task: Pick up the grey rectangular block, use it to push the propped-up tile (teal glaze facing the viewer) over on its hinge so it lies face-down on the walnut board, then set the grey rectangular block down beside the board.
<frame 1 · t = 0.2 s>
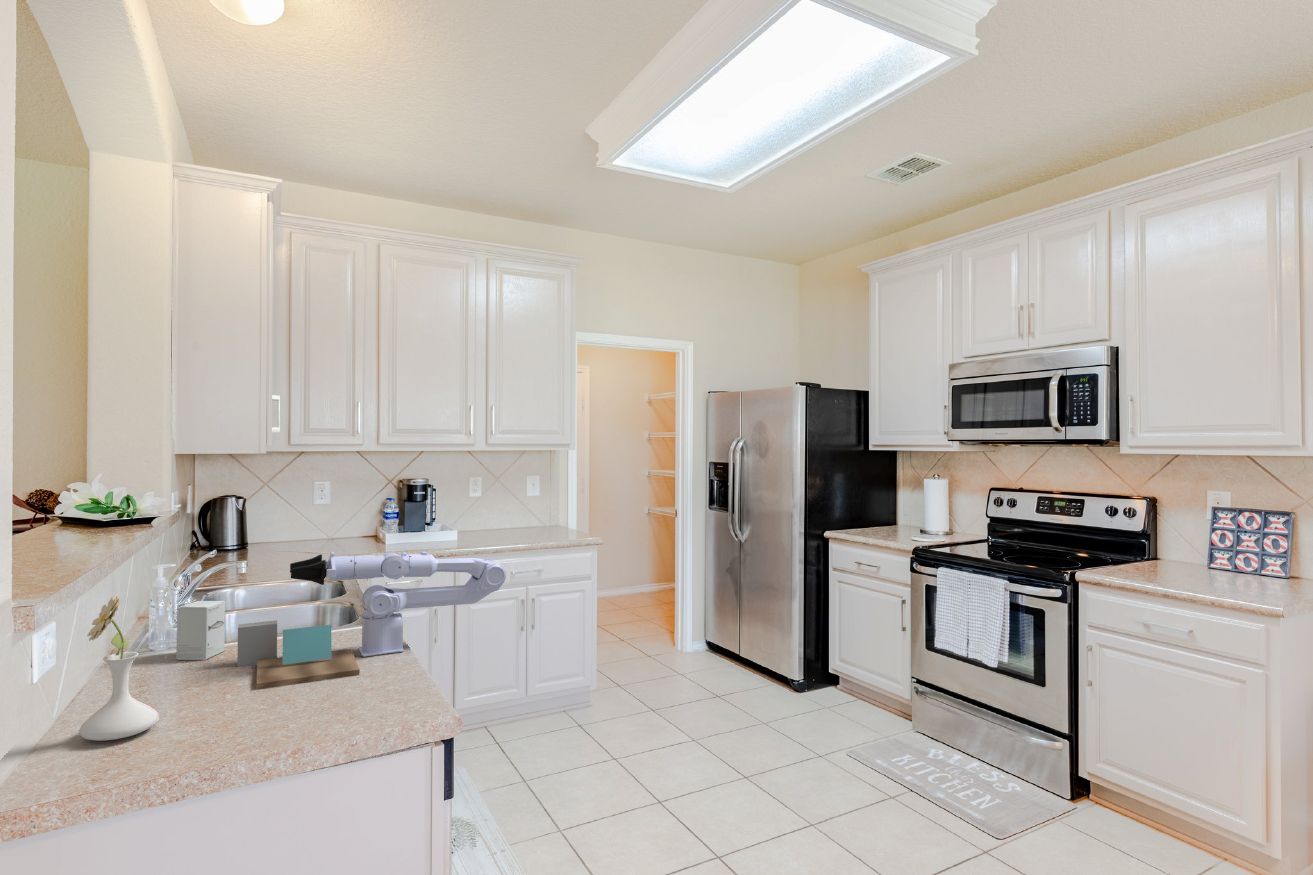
hand: (290, 570, 166), 22 cm above the counter, tool horizontal, fingers open, 7 cm apart
supplement box: (200, 656, 170), on the counter
flower in vase: (118, 736, 124), on the counter
board: (307, 670, 160), on the counter
grey rectangular block: (257, 662, 166), on the counter
tile: (307, 644, 162), point 5 cm above the counter, hinge at 78.0°
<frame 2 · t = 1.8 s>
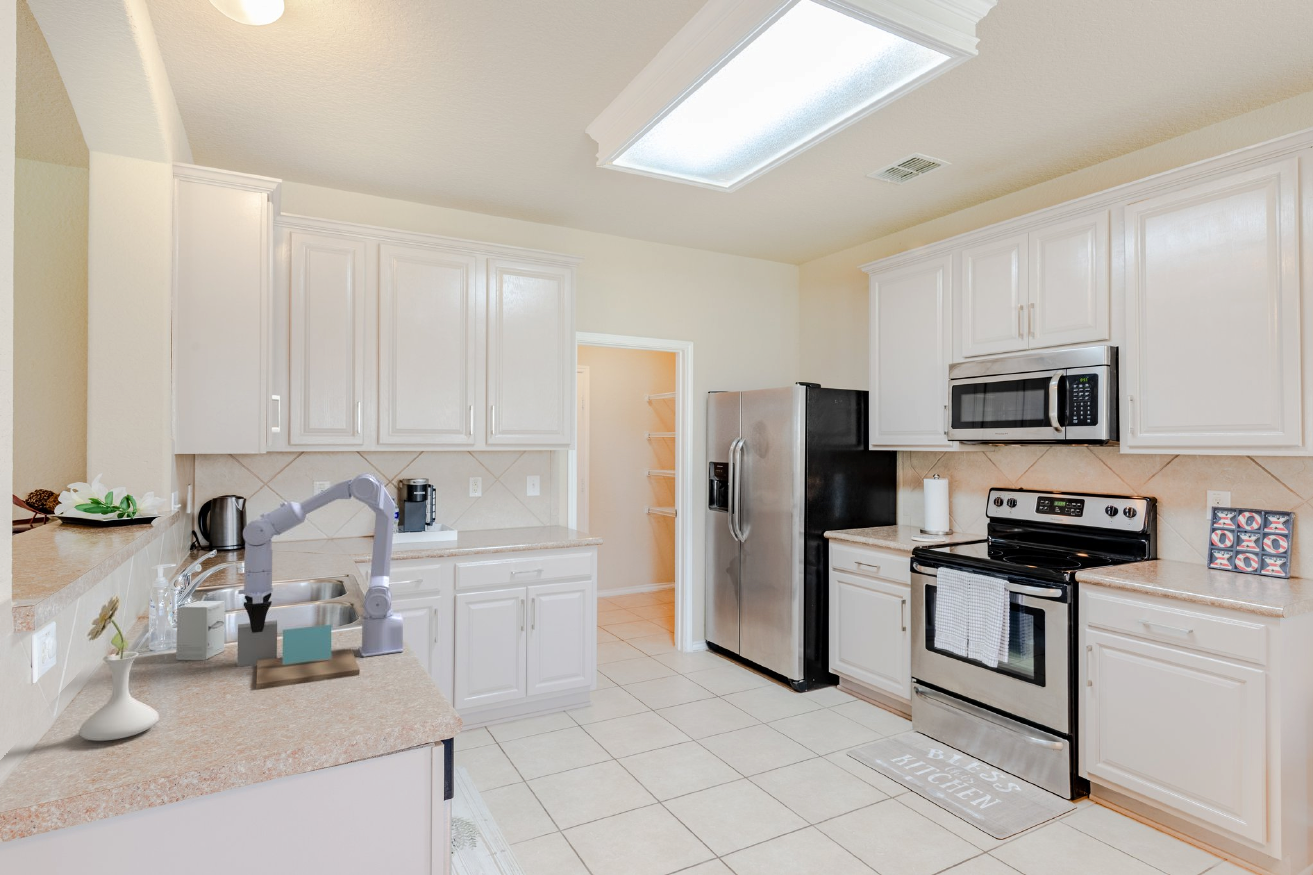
hand: (257, 628, 166), 8 cm above the counter, tool pointing down, fingers open, 7 cm apart
nothing on the counter moved.
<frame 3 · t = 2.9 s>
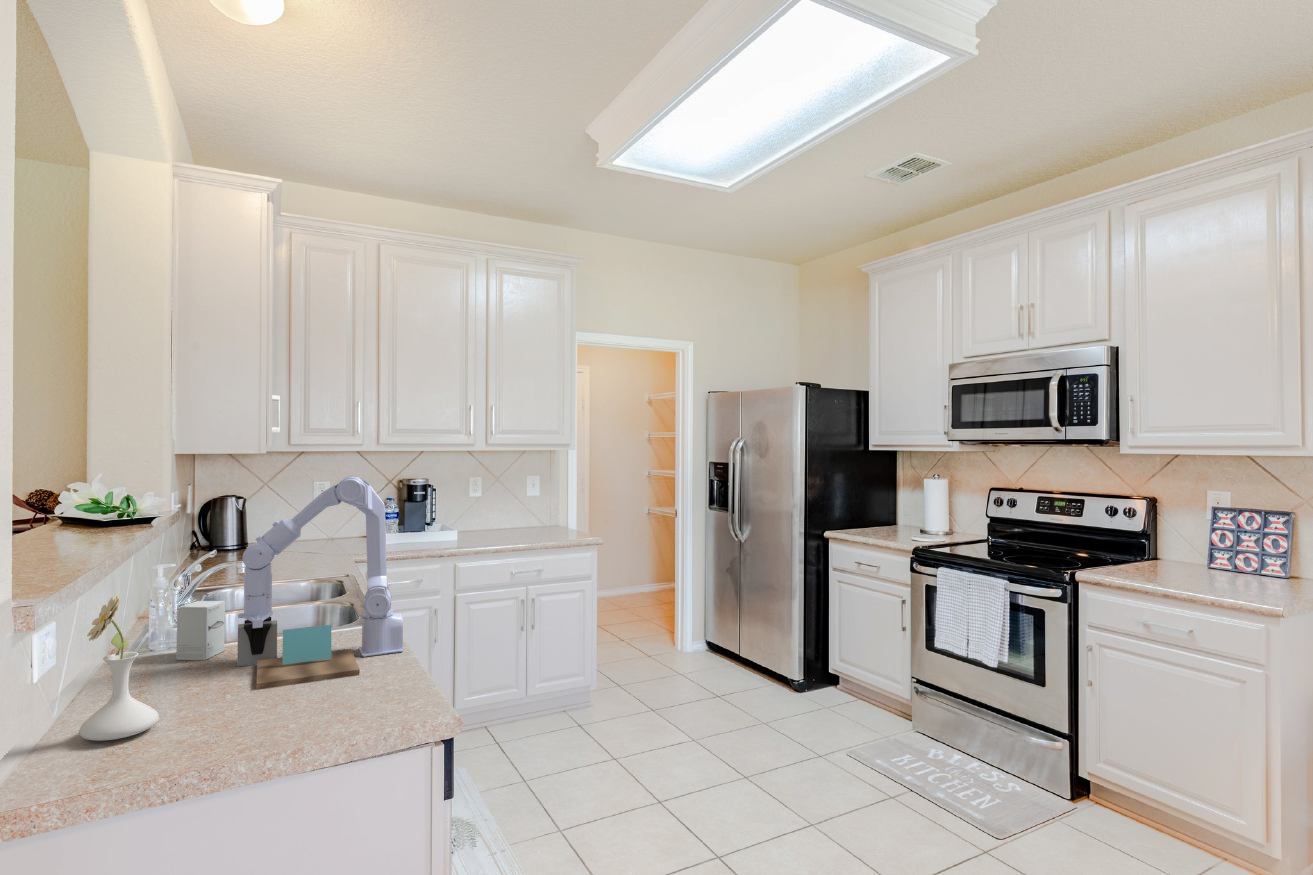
hand: (257, 651, 166), 2 cm above the counter, tool pointing down, fingers closed on grey rectangular block, 3 cm apart
grey rectangular block: (257, 662, 166), on the counter, touching gripper
everything else where it was.
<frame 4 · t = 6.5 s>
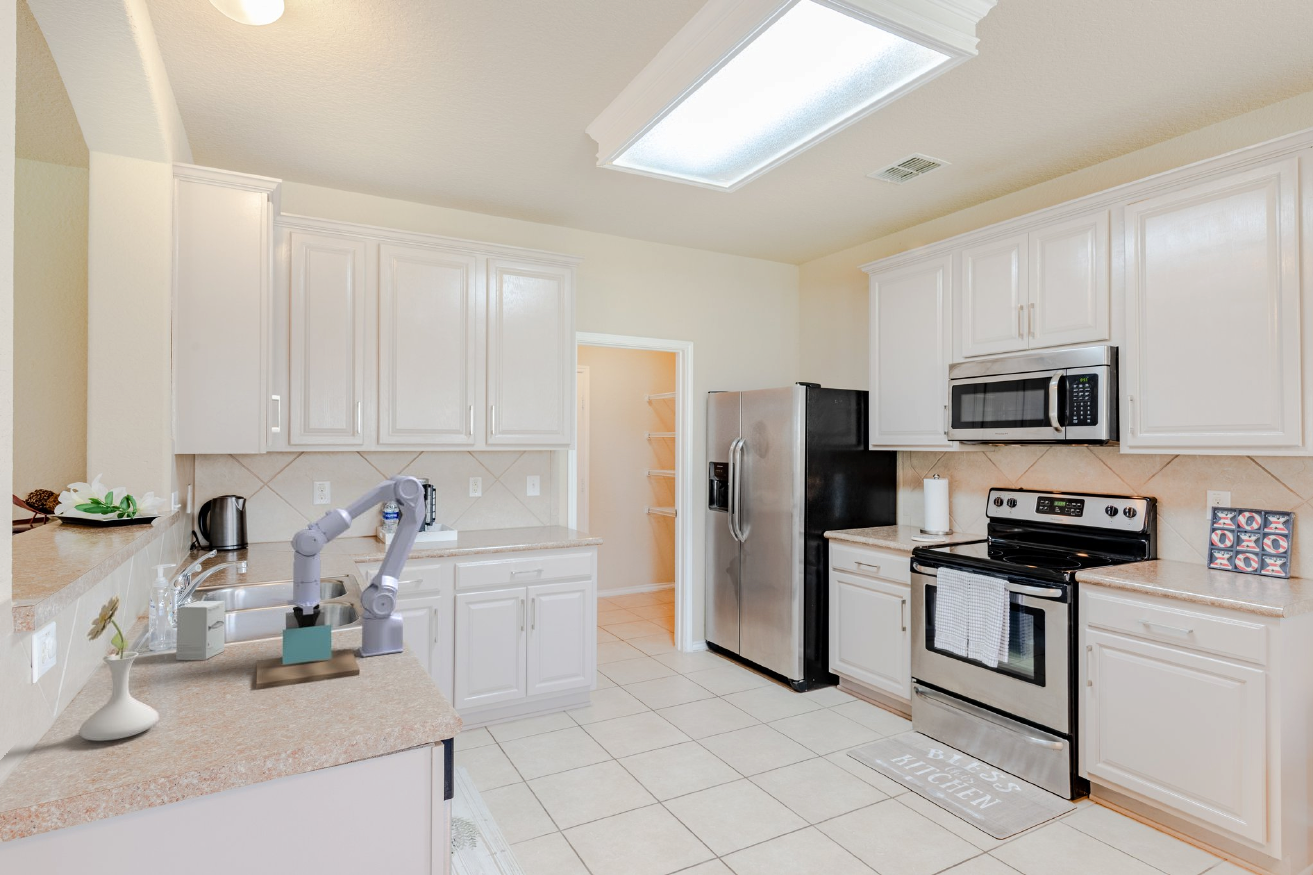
hand: (306, 638, 166), 6 cm above the counter, tool pointing down, fingers closed on grey rectangular block, 3 cm apart
grey rectangular block: (305, 650, 165), point 3 cm above the counter, touching gripper
tile: (307, 644, 162), point 5 cm above the counter, hinge at 78.3°, touching gripper
everything else where it was.
when the fingers open (6 cm above the counter, at t = 7.1 s): grey rectangular block stays where it is, resting on tile.
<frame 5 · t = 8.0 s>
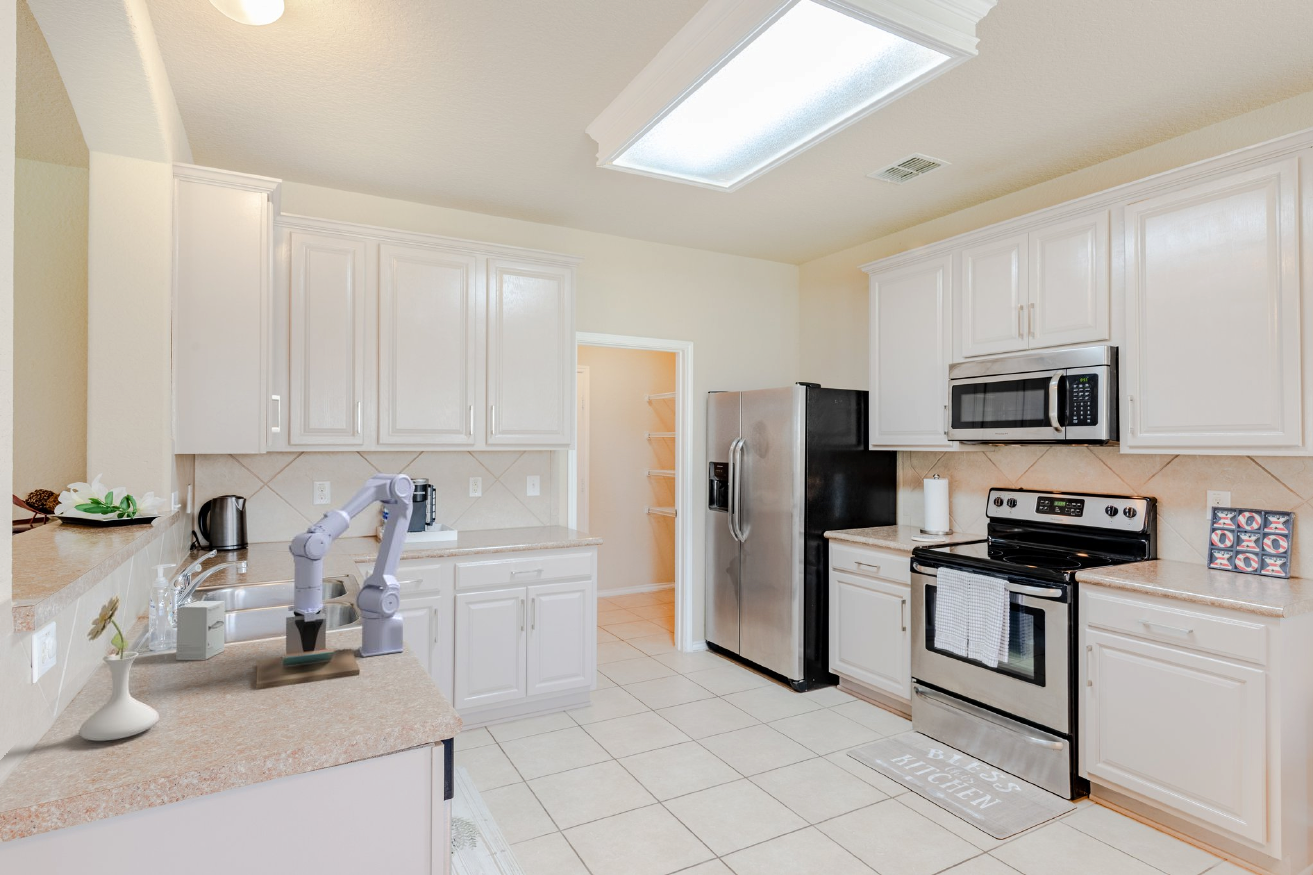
hand: (307, 646, 159), 6 cm above the counter, tool pointing down, fingers open, 7 cm apart
grey rectangular block: (305, 655, 162), point 3 cm above the counter, tilted 9°, touching gripper, tile
tile: (308, 657, 158), point 3 cm above the counter, hinge at 151.9°, touching grey rectangular block
everything else where it was.
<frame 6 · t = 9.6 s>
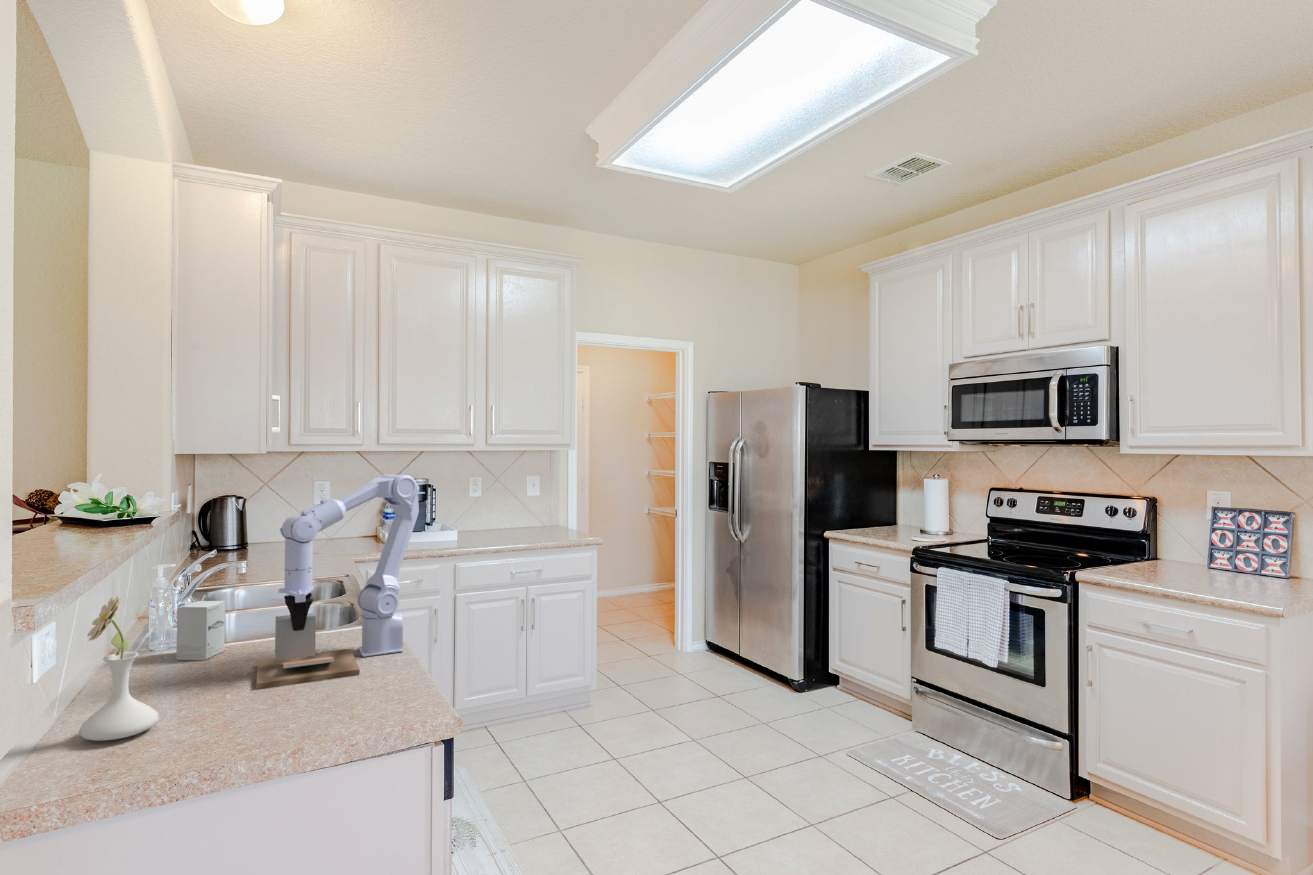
hand: (298, 628, 161), 9 cm above the counter, tool pointing down, fingers closed on grey rectangular block, 3 cm apart
grey rectangular block: (295, 655, 160), point 3 cm above the counter, touching gripper
tile: (308, 662, 158), point 3 cm above the counter, hinge at 167.7°
everything else where it was.
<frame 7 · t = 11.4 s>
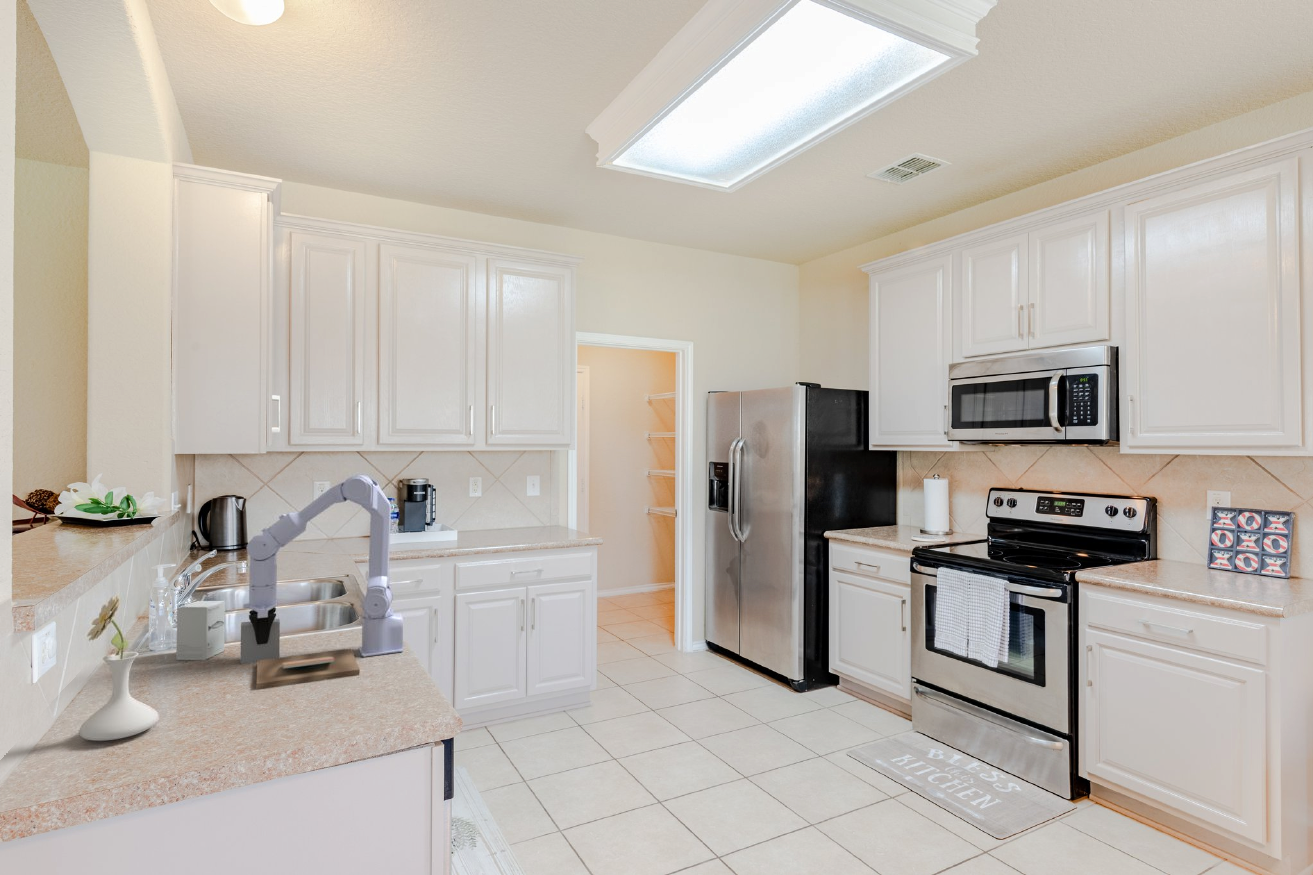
hand: (262, 641, 168), 4 cm above the counter, tool pointing down, fingers closed on grey rectangular block, 3 cm apart
grey rectangular block: (260, 659, 168), on the counter, touching gripper
everything else where it was.
when the fingers open (4 cm above the counter, at t = 11.9 s): grey rectangular block stays where it is, on the counter.
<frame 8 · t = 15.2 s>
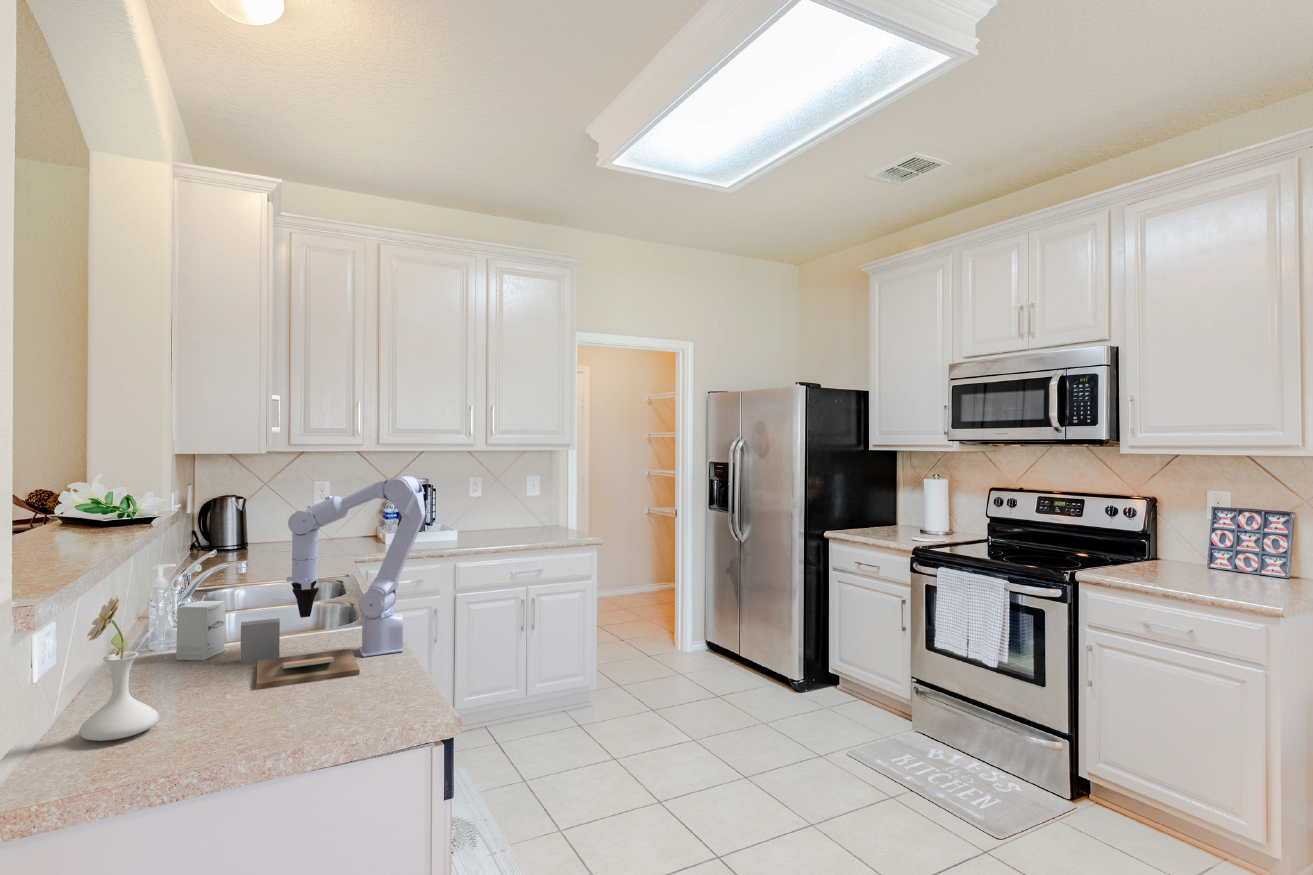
hand: (304, 613, 174), 9 cm above the counter, tool pointing down, fingers open, 7 cm apart
grey rectangular block: (260, 659, 168), on the counter
everything else where it was.
at the end: tile at +168° (first picture: +78°); grey rectangular block inside the target area (0.5 cm from its centre), on the counter; grey rectangular block tilted 0° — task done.
